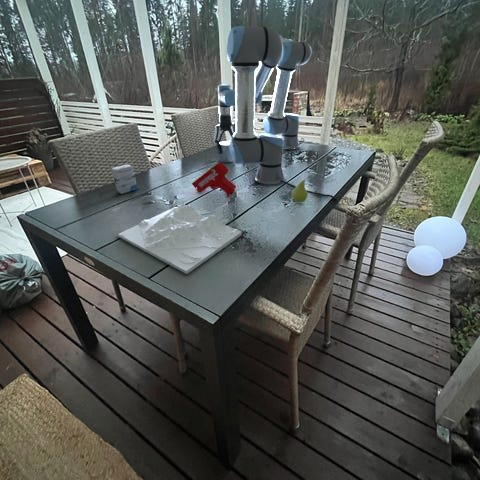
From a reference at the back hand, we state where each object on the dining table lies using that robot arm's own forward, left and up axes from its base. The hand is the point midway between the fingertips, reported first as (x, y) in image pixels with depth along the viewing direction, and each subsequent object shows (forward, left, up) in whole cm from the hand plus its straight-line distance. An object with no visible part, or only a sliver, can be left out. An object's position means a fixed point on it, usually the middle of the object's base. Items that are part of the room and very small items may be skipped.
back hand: (250, 92), depth 207 cm
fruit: (+57, +112, -35) cm, 130 cm away
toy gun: (+82, +81, -35) cm, 120 cm away
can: (+48, +39, -35) cm, 71 cm away
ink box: (+116, +52, -35) cm, 132 cm away
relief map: (+112, +108, -35) cm, 159 cm away
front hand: (+48, +39, -30) cm, 69 cm away
